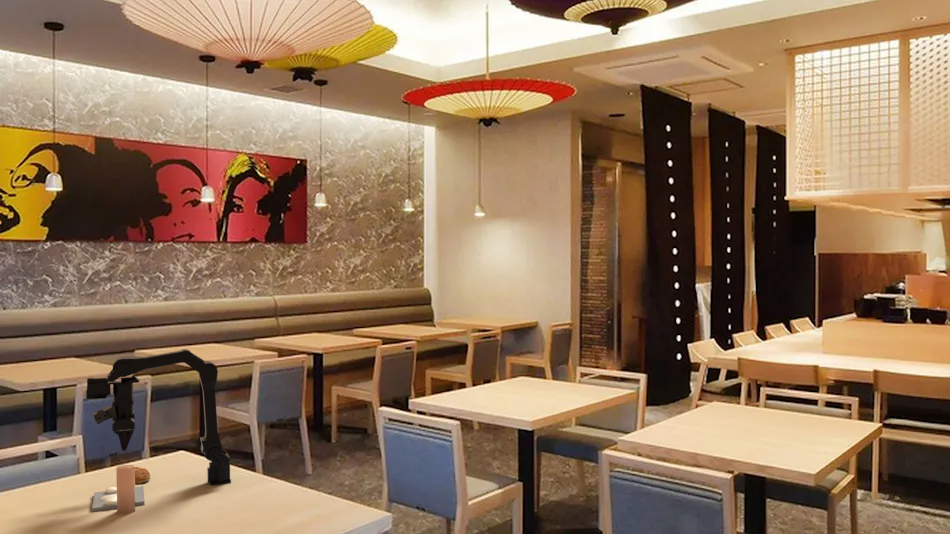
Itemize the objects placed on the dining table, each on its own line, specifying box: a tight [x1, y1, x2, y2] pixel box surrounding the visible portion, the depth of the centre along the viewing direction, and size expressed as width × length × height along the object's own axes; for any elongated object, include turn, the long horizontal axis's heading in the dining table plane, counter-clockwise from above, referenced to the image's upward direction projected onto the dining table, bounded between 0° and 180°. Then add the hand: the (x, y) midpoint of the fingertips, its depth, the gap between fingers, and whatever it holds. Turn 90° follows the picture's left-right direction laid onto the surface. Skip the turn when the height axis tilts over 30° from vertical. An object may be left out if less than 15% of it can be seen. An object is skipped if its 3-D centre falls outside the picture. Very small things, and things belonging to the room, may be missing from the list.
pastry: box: [134, 466, 151, 484], centre depth 253 cm, size 9×7×4 cm
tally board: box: [91, 486, 145, 512], centre depth 233 cm, size 14×16×2 cm
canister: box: [115, 464, 136, 515], centre depth 223 cm, size 5×5×13 cm
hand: (124, 447), depth 239 cm, fingers open, 9 cm apart
